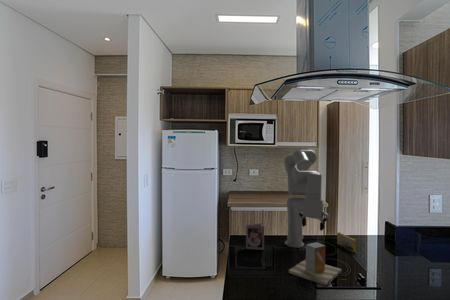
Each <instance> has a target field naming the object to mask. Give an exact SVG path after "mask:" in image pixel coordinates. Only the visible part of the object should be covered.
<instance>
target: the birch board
mask: <svg viewBox="0 0 450 300" xmlns="http://www.w3.org/2000/svg"><path fill="white" fill-rule="evenodd" d="M305 267H306V258H305V259H303V260H302V261H300V262H299V263H297V264H295V265H294V266H293V267H291V268H290V269H288V273H289V274H292V275H294V276H296V277H300V278H302V279H306V280H309V281H311V282H314V283H318V284H321V285H324V286H326V287H327V286H328V285H329V284H330V283H332V282H333V281H334V280H335V279H336V277H338V276H339V275H340V274H341V273H342V269H341V268H339V267H336V266H332V265H328V264H325V270H323V271H319V272H316V273H313V272H311V271H309V270H307V269H306V268H305Z"/></svg>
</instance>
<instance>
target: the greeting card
mask: <svg viewBox="0 0 450 300" xmlns="http://www.w3.org/2000/svg"><path fill="white" fill-rule="evenodd" d="M245 231H246V232H245V233H246V235H245V250H258V251H259V250H260V251H263V250H265V226H263V225H262V223H261V222H260V223H253V224H246V230H245Z"/></svg>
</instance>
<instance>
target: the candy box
mask: <svg viewBox="0 0 450 300" xmlns="http://www.w3.org/2000/svg"><path fill="white" fill-rule="evenodd" d="M336 235H337V239H336V240H337V241H336V244H337V245H338V244H339V245H338V246H340V245H341V246H340V247H342V246H343V247H344V249H345V248H346V250H347V249H348V251H349V250H350V251H349V252H351V251H352V252H351V253H353V252H356V253H357V240H356V239H355V238H352V237H351V236H348V235H346V234H344V233H342V232H339V231H338V232H336ZM343 247H342V248H343Z"/></svg>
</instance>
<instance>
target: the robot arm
mask: <svg viewBox="0 0 450 300" xmlns="http://www.w3.org/2000/svg"><path fill="white" fill-rule="evenodd" d="M316 161H317V153H316V151H314V150H312V149H297V150H295V151H293V153H292V154H290V155H289V154H288V155H286V156H285V157H284V161H283V163H284V168H285V171H286V174H287V189H288V193H289V195H290V196H293V197H289V198H288V199H287V200H286V209H287V231H286V232H287V235H286V240H285V241H284V245H286V246H287V247H289V248H290V247H291V248H296V249H297V248H303V247H304V246H305V242H303V240H304V238H305V236H304V235H303V228H304V227H306V226H307V218H309V219H315V220H319V221H320V222H319V231H320V232H321V231H323V230H324V229H325V222H327V221H328V220H329V219H330V217H331V216H330V214H328V213H327V212H326V211H324V202H323V198H322V177H323V175H322V174H321V173H320V172H319V171H316V170H309V169H310V168H311V167H312V166H313V165H314V164H315V163H316ZM294 196H296V197H294ZM297 196H299V197H297ZM301 196H303V197H301ZM324 216H325V218H324Z"/></svg>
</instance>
